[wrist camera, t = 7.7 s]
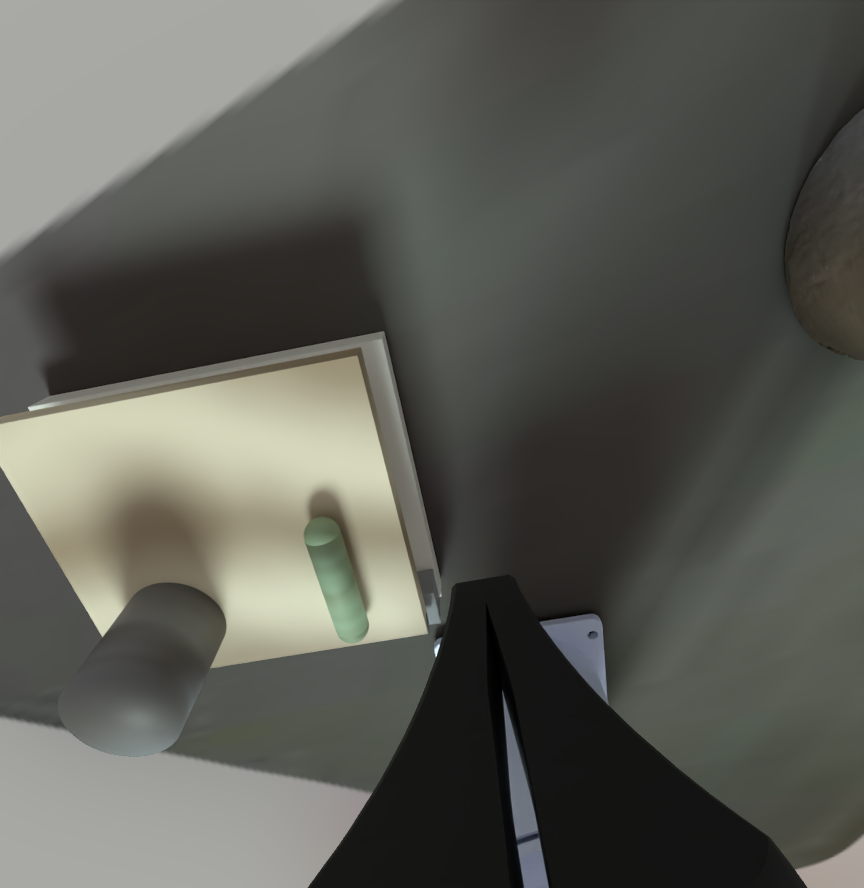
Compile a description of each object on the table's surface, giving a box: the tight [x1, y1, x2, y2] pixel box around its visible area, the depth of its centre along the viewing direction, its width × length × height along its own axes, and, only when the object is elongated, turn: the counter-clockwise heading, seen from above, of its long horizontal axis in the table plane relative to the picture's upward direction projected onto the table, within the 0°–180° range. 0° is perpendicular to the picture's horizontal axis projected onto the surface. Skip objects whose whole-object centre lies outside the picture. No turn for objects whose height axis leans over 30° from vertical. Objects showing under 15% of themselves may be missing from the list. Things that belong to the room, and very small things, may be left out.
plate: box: [0, 347, 430, 757], centre depth 17 cm, size 11×12×5 cm
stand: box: [28, 331, 442, 625], centre depth 21 cm, size 12×13×3 cm
